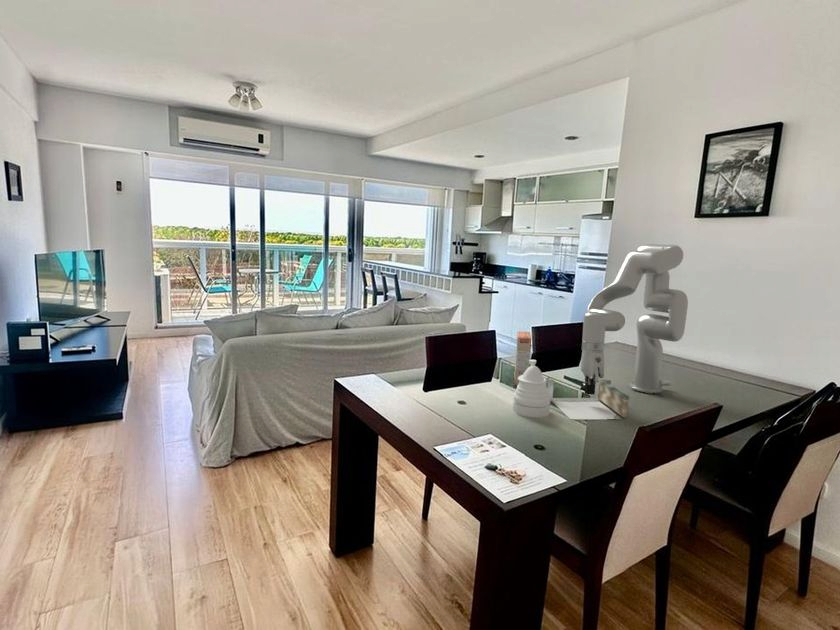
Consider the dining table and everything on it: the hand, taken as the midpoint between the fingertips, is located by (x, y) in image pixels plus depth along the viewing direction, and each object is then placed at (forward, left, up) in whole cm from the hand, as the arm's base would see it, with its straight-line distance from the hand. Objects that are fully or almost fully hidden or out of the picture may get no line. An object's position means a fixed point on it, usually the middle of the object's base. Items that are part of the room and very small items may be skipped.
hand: (589, 393), depth 169 cm
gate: (-7, +4, -4) cm, 9 cm away
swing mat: (+4, +6, -4) cm, 8 cm away
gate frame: (+3, -5, -5) cm, 7 cm away
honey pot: (+24, +5, -5) cm, 25 cm away
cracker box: (+18, -29, -5) cm, 34 cm away
